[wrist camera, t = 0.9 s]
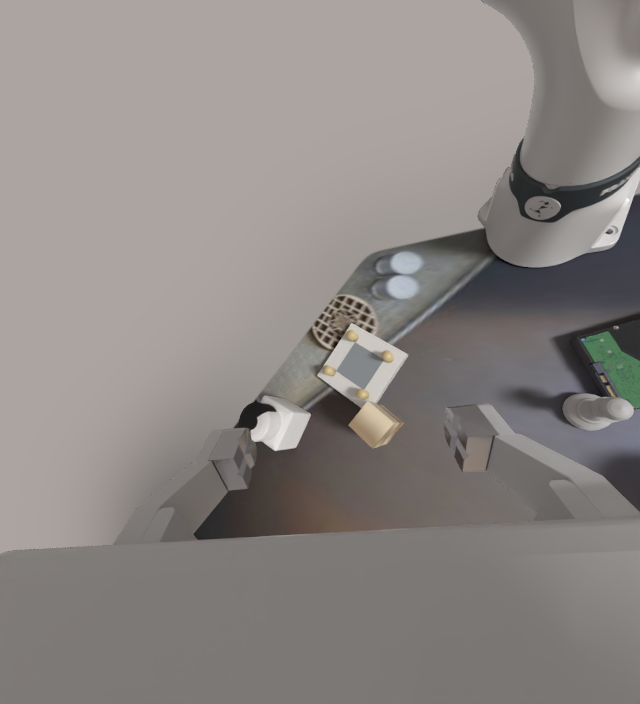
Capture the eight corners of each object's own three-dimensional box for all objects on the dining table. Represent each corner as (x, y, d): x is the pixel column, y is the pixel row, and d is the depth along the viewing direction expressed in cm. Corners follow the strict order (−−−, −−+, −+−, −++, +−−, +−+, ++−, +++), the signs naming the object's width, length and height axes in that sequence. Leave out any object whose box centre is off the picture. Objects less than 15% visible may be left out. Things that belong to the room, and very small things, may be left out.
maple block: (382, 405, 45) (367, 400, 36) (403, 423, 43) (393, 422, 34) (366, 425, 45) (348, 425, 37) (386, 443, 43) (372, 448, 34)
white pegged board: (353, 325, 51) (347, 318, 48) (408, 355, 45) (405, 350, 42) (319, 376, 51) (311, 373, 48) (369, 413, 46) (364, 412, 42)
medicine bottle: (269, 430, 53) (226, 431, 42) (284, 398, 53) (245, 391, 43) (296, 448, 50) (257, 454, 39) (312, 413, 50) (277, 410, 40)
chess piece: (608, 434, 33) (654, 437, 26) (560, 424, 35) (590, 424, 28) (611, 397, 34) (656, 390, 27) (563, 390, 36) (593, 381, 29)
